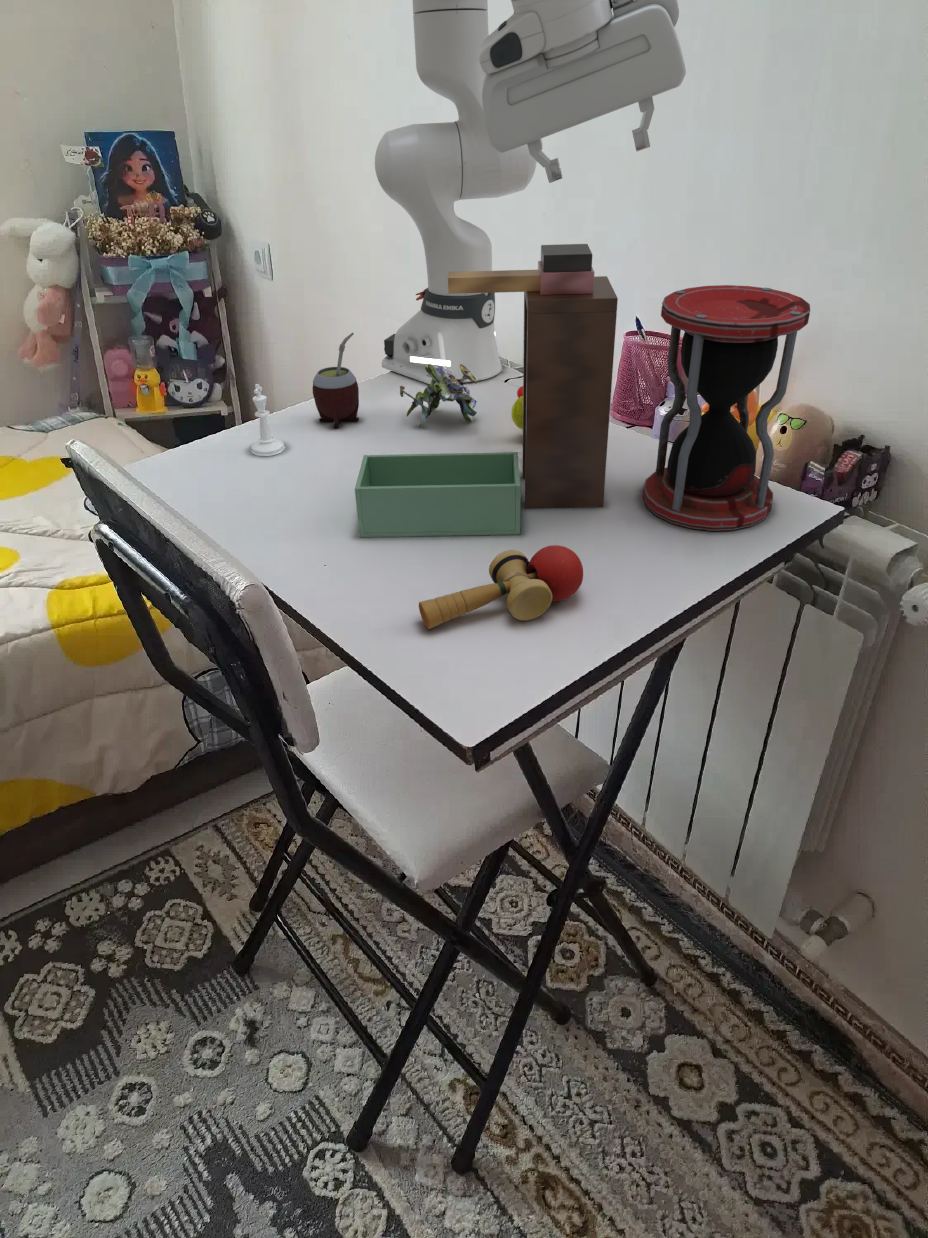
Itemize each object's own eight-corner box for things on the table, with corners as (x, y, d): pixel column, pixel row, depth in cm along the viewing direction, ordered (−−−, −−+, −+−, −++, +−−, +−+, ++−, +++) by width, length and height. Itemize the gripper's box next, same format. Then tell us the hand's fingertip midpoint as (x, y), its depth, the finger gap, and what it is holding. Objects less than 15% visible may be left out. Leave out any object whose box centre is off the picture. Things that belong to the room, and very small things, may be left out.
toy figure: (553, 463, 121) (555, 418, 118) (514, 465, 122) (514, 419, 118) (543, 415, 136) (544, 374, 132) (508, 417, 136) (508, 375, 132)
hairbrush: (448, 297, 98) (446, 258, 95) (449, 284, 103) (448, 246, 100) (593, 293, 97) (595, 254, 95) (588, 280, 102) (589, 242, 100)
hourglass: (730, 545, 101) (766, 331, 87) (617, 504, 111) (634, 305, 96) (794, 498, 111) (836, 298, 96) (685, 464, 120) (709, 276, 106)
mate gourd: (321, 413, 140) (309, 319, 131) (369, 412, 140) (360, 318, 131) (312, 431, 134) (299, 334, 125) (363, 430, 133) (353, 333, 125)
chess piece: (290, 444, 130) (280, 379, 124) (276, 457, 126) (265, 391, 120) (260, 441, 131) (249, 377, 125) (245, 454, 127) (233, 389, 121)
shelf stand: (525, 508, 111) (527, 300, 96) (522, 474, 119) (524, 278, 104) (603, 506, 110) (617, 297, 96) (594, 473, 119) (607, 275, 104)
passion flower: (467, 452, 139) (496, 406, 128) (404, 454, 134) (429, 406, 124) (449, 395, 142) (476, 346, 132) (388, 394, 138) (410, 343, 128)
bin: (359, 537, 106) (354, 488, 102) (368, 501, 114) (363, 454, 110) (520, 534, 105) (520, 485, 101) (517, 498, 113) (517, 451, 109)
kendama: (442, 661, 87) (601, 601, 90) (427, 607, 84) (592, 547, 87) (421, 631, 93) (569, 577, 97) (406, 580, 91) (560, 526, 94)
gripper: (668, -35, 82) (694, 120, 91) (467, 49, 88) (509, 187, 96) (676, -26, 77) (702, 136, 86) (463, 62, 83) (507, 205, 92)
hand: (598, 163), depth 91 cm, fingers open, 8 cm apart
